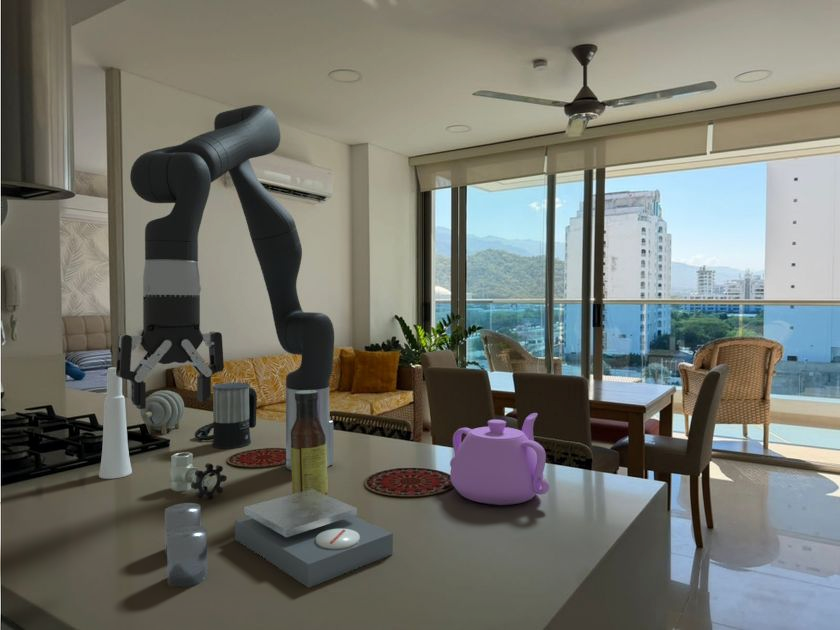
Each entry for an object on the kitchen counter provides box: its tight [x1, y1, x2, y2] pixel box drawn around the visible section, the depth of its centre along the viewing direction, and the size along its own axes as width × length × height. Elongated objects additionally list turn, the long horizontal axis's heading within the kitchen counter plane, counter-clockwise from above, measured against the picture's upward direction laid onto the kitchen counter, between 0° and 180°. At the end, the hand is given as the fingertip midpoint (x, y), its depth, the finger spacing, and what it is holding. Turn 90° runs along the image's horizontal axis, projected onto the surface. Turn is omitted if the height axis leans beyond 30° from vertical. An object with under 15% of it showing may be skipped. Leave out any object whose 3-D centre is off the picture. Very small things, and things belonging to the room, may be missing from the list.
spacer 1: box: [164, 502, 202, 556], centre depth 84 cm, size 5×5×6 cm
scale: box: [234, 515, 394, 589], centre depth 85 cm, size 14×20×4 cm
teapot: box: [449, 412, 550, 506], centre depth 110 cm, size 22×22×14 cm
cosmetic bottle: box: [98, 366, 133, 480], centre depth 119 cm, size 6×6×22 cm
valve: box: [170, 451, 228, 501], centre depth 109 cm, size 7×7×12 cm
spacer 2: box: [166, 525, 208, 589], centre depth 76 cm, size 5×5×6 cm
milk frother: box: [194, 382, 258, 449], centre depth 147 cm, size 14×16×15 cm
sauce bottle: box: [290, 390, 329, 496], centre depth 103 cm, size 7×6×20 cm
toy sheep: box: [139, 390, 185, 436], centre depth 157 cm, size 11×17×11 cm, turn 1°
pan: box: [243, 489, 358, 537], centre depth 87 cm, size 12×12×1 cm
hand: (172, 404), depth 84 cm, fingers open, 8 cm apart
